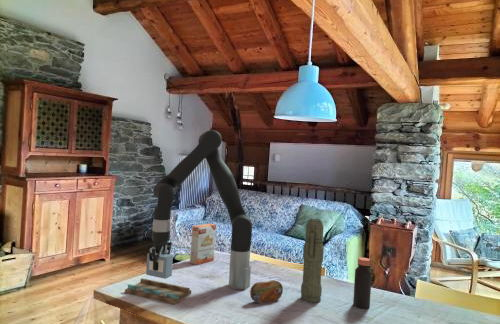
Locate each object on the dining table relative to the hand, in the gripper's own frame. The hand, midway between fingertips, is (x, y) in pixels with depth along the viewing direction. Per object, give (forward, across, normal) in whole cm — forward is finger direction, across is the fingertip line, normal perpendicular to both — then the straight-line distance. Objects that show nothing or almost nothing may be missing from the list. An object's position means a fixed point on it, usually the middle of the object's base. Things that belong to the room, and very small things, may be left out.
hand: (159, 268), depth 156 cm
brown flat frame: (+11, 0, 0) cm, 11 cm away
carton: (+3, 0, 0) cm, 3 cm away
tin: (+11, -15, +44) cm, 48 cm away
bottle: (+10, -30, +82) cm, 88 cm away
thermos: (+10, -26, +61) cm, 67 cm away
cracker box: (+11, -50, -6) cm, 51 cm away
